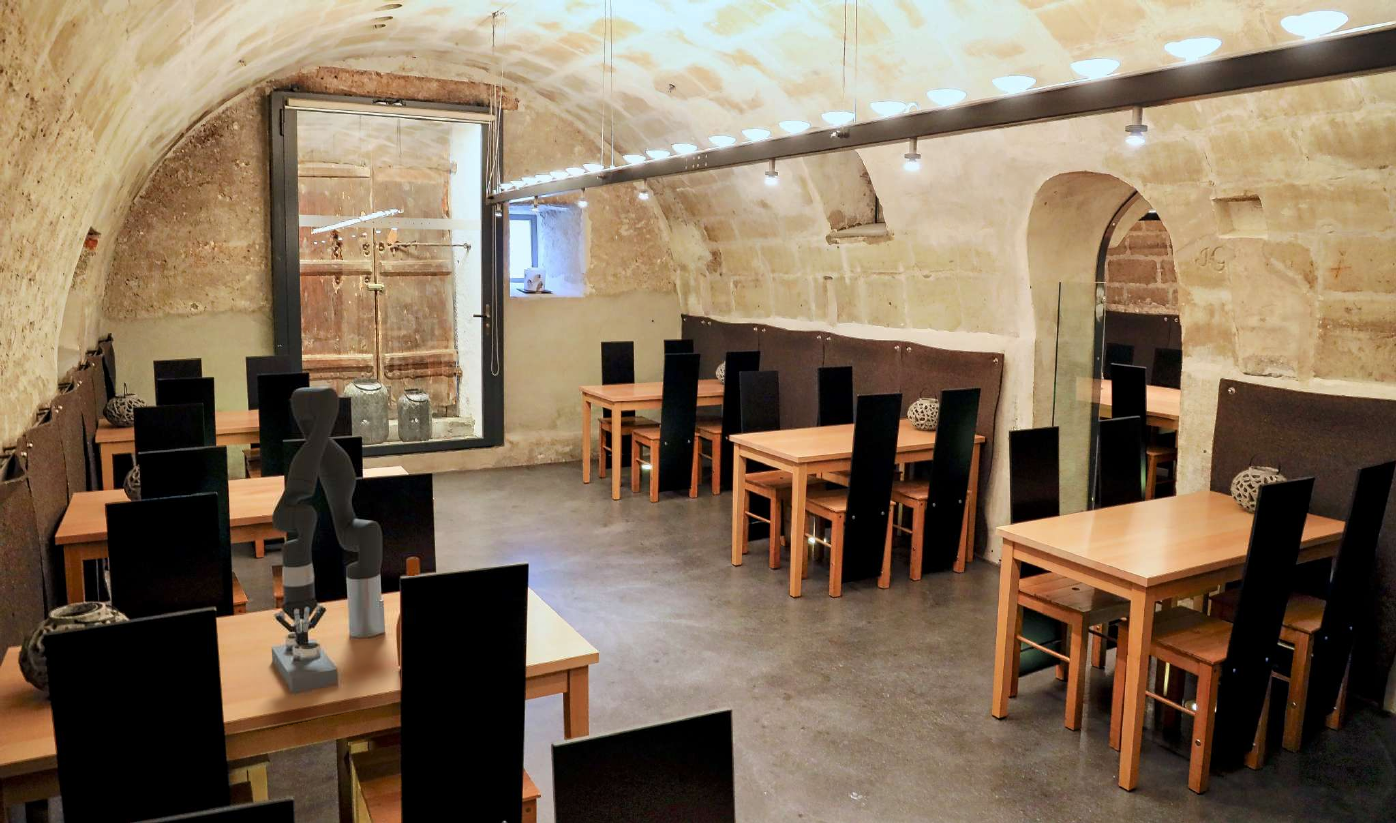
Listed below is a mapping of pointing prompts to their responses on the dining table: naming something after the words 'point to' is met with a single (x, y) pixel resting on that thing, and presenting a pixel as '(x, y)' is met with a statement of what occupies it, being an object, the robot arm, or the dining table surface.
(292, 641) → the knob
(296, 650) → the knob
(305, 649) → the knob
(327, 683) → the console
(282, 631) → the dining table surface
